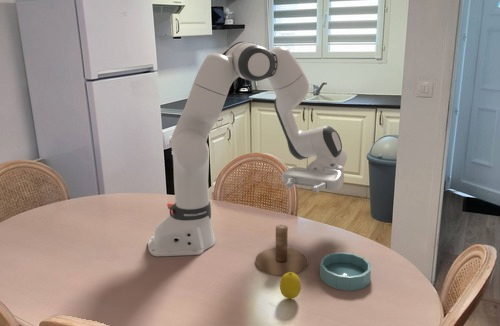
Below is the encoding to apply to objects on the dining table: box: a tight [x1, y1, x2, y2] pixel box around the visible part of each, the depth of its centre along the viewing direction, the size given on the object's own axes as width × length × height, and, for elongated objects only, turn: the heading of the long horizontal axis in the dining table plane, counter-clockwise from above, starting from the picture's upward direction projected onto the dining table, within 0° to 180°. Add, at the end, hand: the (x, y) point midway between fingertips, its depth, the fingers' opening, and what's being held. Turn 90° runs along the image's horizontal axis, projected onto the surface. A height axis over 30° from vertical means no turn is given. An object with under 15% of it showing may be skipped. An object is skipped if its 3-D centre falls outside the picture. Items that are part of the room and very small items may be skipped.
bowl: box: [319, 251, 372, 292], centre depth 127 cm, size 14×14×4 cm
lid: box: [255, 224, 308, 277], centre depth 134 cm, size 16×16×12 cm
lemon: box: [279, 272, 302, 300], centre depth 116 cm, size 6×6×8 cm
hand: (301, 188), depth 139 cm, fingers open, 8 cm apart
